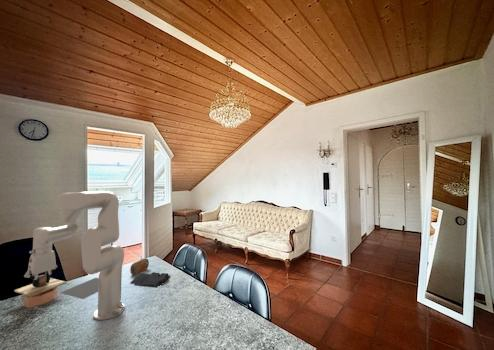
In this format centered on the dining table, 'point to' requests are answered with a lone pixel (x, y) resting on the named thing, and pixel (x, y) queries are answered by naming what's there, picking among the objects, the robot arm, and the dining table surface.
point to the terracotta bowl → (40, 298)
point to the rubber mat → (83, 289)
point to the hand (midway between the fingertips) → (41, 284)
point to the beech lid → (40, 286)
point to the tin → (139, 266)
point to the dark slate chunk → (150, 279)
